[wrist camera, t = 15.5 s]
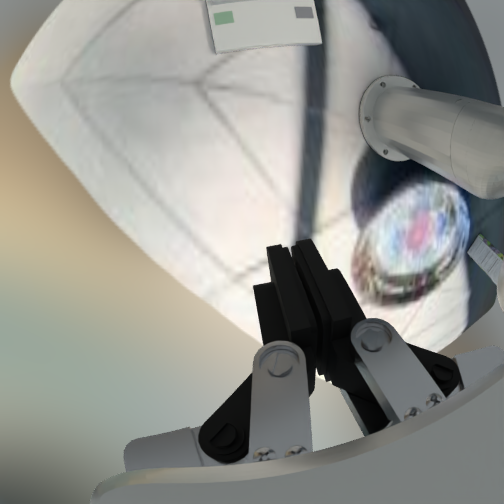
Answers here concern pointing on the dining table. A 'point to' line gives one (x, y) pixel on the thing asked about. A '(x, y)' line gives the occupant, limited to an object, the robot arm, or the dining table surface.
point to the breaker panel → (262, 24)
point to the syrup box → (486, 257)
